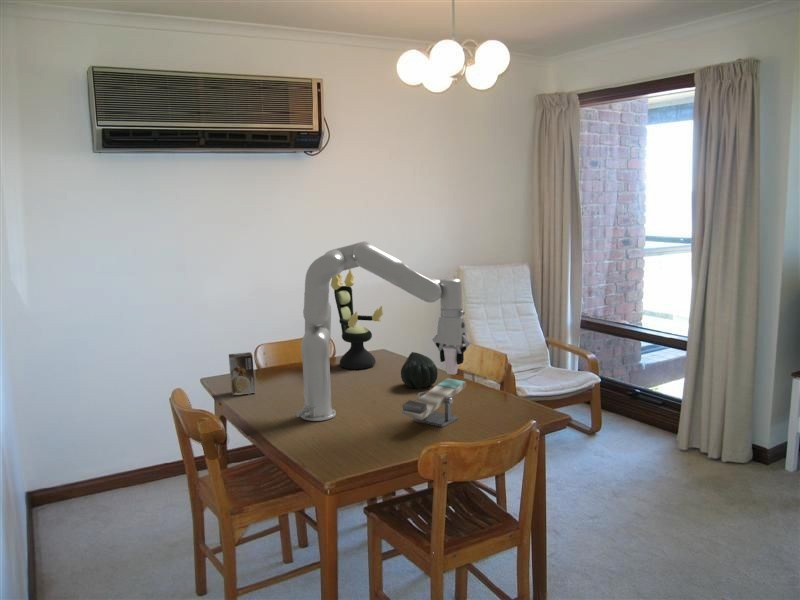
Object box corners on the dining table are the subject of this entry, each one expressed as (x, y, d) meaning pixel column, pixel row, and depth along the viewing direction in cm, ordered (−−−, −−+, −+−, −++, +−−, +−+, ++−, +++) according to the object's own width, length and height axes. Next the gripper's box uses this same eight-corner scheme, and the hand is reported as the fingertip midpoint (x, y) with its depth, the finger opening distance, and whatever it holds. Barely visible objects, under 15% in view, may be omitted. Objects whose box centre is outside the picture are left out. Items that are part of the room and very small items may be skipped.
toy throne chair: (358, 373, 296) (355, 272, 288) (322, 366, 309) (318, 270, 302) (385, 364, 310) (382, 268, 303) (349, 357, 324) (346, 265, 317)
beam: (422, 419, 218) (420, 408, 217) (402, 415, 223) (401, 404, 222) (466, 386, 241) (465, 376, 240) (447, 383, 245) (446, 373, 244)
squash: (447, 376, 268) (432, 344, 275) (415, 383, 261) (401, 350, 268) (434, 391, 279) (420, 361, 286) (403, 399, 272) (390, 367, 278)
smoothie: (459, 370, 243) (459, 332, 240) (461, 375, 236) (461, 336, 234) (442, 370, 243) (441, 333, 240) (443, 375, 236) (443, 337, 234)
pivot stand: (444, 427, 225) (444, 402, 224) (411, 420, 233) (410, 395, 231) (459, 419, 233) (459, 394, 232) (427, 412, 241) (426, 388, 239)
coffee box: (253, 389, 274) (251, 351, 271) (255, 394, 268) (253, 355, 265) (230, 392, 271) (228, 353, 268) (232, 396, 265) (229, 357, 262)
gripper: (477, 313, 234) (477, 363, 237) (436, 309, 244) (437, 357, 247) (467, 317, 228) (467, 368, 231) (425, 312, 238) (425, 361, 241)
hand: (451, 361), depth 239 cm, fingers closed on smoothie, 6 cm apart
